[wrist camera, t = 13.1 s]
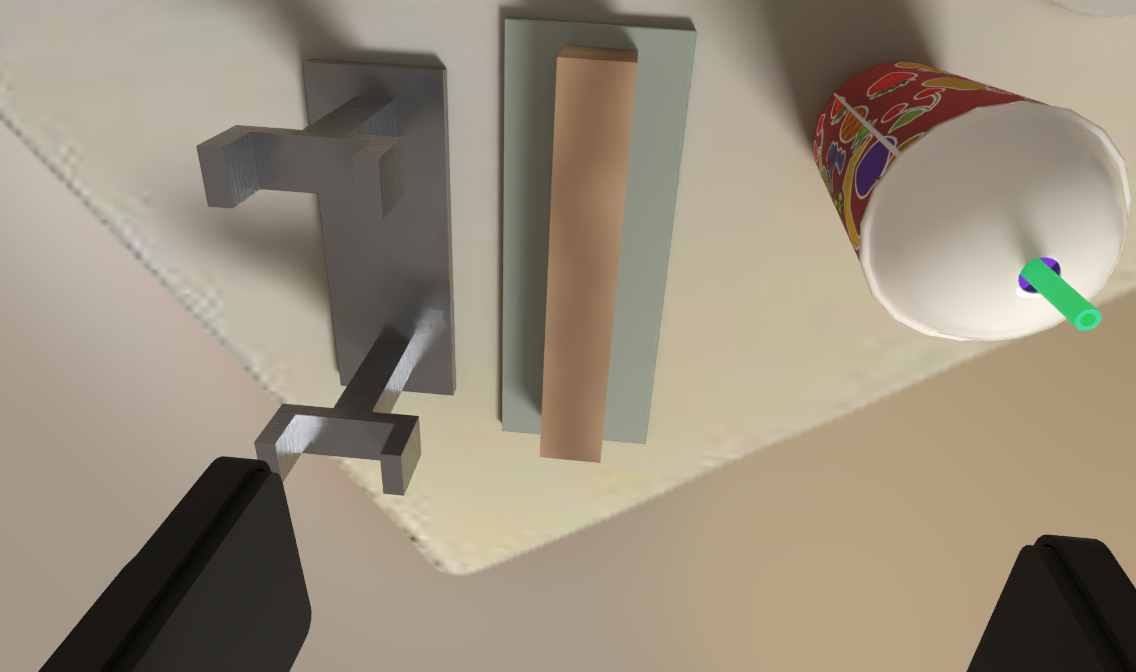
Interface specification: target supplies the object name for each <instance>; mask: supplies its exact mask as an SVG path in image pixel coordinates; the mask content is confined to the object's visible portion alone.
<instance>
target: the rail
mask: <svg viewBox="0 0 1136 672" xmlns="http://www.w3.org/2000/svg"><path fill="white" fill-rule="evenodd" d="M637 64H638V50H630V49H615V48H601V47H587V46H572V45H564V47H563V48H562V50H561V52H560V53H559V55H558V57H557V72H556V95H555V118H554V141H553V164H552V187H551V210H550V234H549V257H548V280H547V303H546V326H545V349H544V372H543V396H542V419H541V442H540V457H546V458H556V459H566V460H576V461H587V462H597V463H600V459H601V449H602V438H603V427H604V417H605V406H606V395H607V385H608V374H609V363H610V352H611V342H612V331H613V320H614V310H615V299H616V288H617V278H618V267H619V256H620V246H621V235H622V224H623V213H624V203H625V192H626V181H627V171H628V160H629V149H630V139H631V128H632V117H633V106H634V96H635V85H636V74H637Z"/></svg>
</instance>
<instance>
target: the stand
mask: <svg viewBox="0 0 1136 672" xmlns="http://www.w3.org/2000/svg"><path fill="white" fill-rule="evenodd" d="M302 63H303V71H304V80H305V88H306V97H307V105H308V113H309V122H310V125H309V126H308V127H306V128H305V129H303V130H296V129H282V128H268V127H254V126H240V125H236V126H234V127H232V128H230V129H228V130H226V131H224V132H222V133H220V134H218V135H216V136H214V137H213V138H211V139H209V140H207V141H205V142H203V143H201V144H199V145H197V151H198V156H199V161H200V166H201V172H202V177H203V182H204V187H205V192H206V197H207V202H208V206H210V207H222V208H234V207H236V206H237V205H238V204H240V203H241V202H242V201H244V200H245V199H247V198H248V197H249V196H251V195H252V194H254V193H255V192H256V191H258V190H259V189H267V190H280V191H293V192H306V193H318V197H319V206H320V214H321V222H322V231H323V239H324V248H325V256H326V264H327V273H328V281H329V289H330V298H331V306H332V315H333V323H334V331H335V340H336V348H337V357H338V365H339V373H340V382H341V385H342V386H347V387H346V389H345V390H344V392H343V394H342V395H341V397H340V398H339V400H338V402H337V403H336V405H335V406H334V408H325V407H314V406H303V405H292V404H282V405H281V407H280V408H279V409H278V411H277V412H276V413H275V415H274V416H273V417H272V419H271V420H270V422H269V423H268V424H267V426H266V427H265V428H264V430H263V431H262V433H261V434H260V435H259V436H258V438H257V439H256V441H255V442H254V443H255V448H256V453H257V458H258V460H263V461H266V462H267V463H268V465H269V467H270V469H271V472H275V473H278V474H279V475H280V476H281V479H282V482H284V480H285V478H286V477H287V475H288V474H289V472H290V470H291V469H292V467H293V466H294V464H295V463H296V461H297V459H298V458H299V456H300V455H301V453H308V454H318V455H329V456H339V457H350V458H361V459H371V460H380V461H381V471H382V482H383V493H384V494H393V495H403V496H404V494H405V492H406V490H407V487H408V485H409V482H410V480H411V477H412V475H413V473H414V470H415V468H416V465H417V463H418V460H419V458H420V456H421V444H420V427H419V416H412V415H401V414H390V413H391V411H392V409H393V407H394V405H395V403H396V401H397V399H398V397H399V395H400V393H401V391H409V392H420V393H431V394H442V395H454V392H455V390H456V372H455V338H454V304H453V270H452V237H451V203H450V169H449V136H448V102H447V68H433V67H418V66H403V65H388V64H373V63H358V62H343V61H328V60H313V59H308V60H306V61H303V62H302Z"/></svg>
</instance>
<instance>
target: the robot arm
mask: <svg viewBox="0 0 1136 672" xmlns="http://www.w3.org/2000/svg"><path fill="white" fill-rule="evenodd" d="M1045 1H1048V2H1050V3H1053V4H1055V5H1057V6H1060V7H1062V8H1065V9H1067V10H1069V11H1074V12H1079V13H1084V14H1088V15H1092V16H1107V17H1126V16H1134V15H1136V0H1045ZM310 623H311V606H310V601H309V597H308V593H307V588H306V584H305V580H304V575H303V570H302V566H301V562H300V558H299V553H298V548H297V544H296V539H295V535H294V531H293V526H292V522H291V517H290V513H289V508H288V505H287V500H286V495H285V491H284V486H283V482H282V479H281V476H280V475H279V474H278V473H275V472H271V469H270V467H269V465H268V463H267V462H266V461H263V460H254V459H245V458H235V457H223V456H222V457H219V458H217V459H216V460H214V461H213V462H212V463H211V464H210V466H209V467H208V468H207V469H206V471H205V472H204V473H203V474H202V475H201V477H200V478H199V479H198V480H197V482H196V483H195V484H194V485H193V486H192V488H191V489H190V490H189V491H188V493H187V494H186V495H185V496H184V497H183V499H182V500H181V501H180V502H179V504H178V505H177V506H176V507H175V509H174V510H173V511H172V512H171V513H170V515H169V516H168V517H167V518H166V520H165V521H164V522H163V523H162V524H161V526H160V527H159V528H158V529H157V531H156V532H155V533H154V534H153V536H152V537H151V538H150V539H149V540H148V542H147V543H146V544H145V545H144V547H143V548H142V549H141V550H140V551H139V553H138V554H137V555H136V556H135V557H134V558H133V559H132V560H131V561H130V562H129V563H128V564H127V565H126V566H125V567H124V568H123V569H122V570H121V571H120V573H119V574H118V575H117V576H116V577H115V579H114V580H113V581H112V582H111V584H110V585H109V586H108V587H107V589H106V590H105V591H104V592H103V593H102V594H101V596H100V597H99V598H98V599H97V601H96V602H95V603H94V605H93V606H92V607H91V608H90V609H89V610H88V612H87V613H86V614H85V615H84V616H83V618H82V619H81V620H80V621H79V623H78V624H77V625H76V626H75V627H74V629H73V630H72V631H71V632H70V634H69V635H68V636H67V637H66V638H65V640H64V641H63V642H62V643H61V645H60V646H59V647H58V648H57V649H56V651H55V652H54V653H53V654H52V655H51V657H50V658H49V659H48V660H47V662H46V663H45V664H44V665H43V667H42V668H41V669H40V670H39V671H38V672H289V671H290V669H291V667H292V665H293V663H294V661H295V659H296V657H297V655H298V653H299V651H300V649H301V647H302V645H303V643H304V641H305V639H306V637H307V634H308V631H309V628H310ZM967 672H1136V589H1135V587H1134V585H1133V584H1132V583H1131V581H1130V580H1129V578H1128V576H1127V575H1126V574H1125V572H1124V571H1123V569H1122V568H1121V566H1120V565H1119V563H1118V562H1117V560H1116V559H1115V557H1114V556H1113V554H1112V553H1111V551H1110V550H1109V549H1108V548H1107V546H1106V545H1105V544H1104V543H1103V542H1101V541H1099V540H1097V539H1090V538H1079V537H1068V536H1057V535H1042V536H1041V537H1039V538H1038V539H1037V541H1036V542H1035V544H1034V545H1026V546H1024V547H1023V548H1022V549H1021V551H1020V553H1019V555H1018V557H1017V559H1016V562H1015V564H1014V566H1013V568H1012V571H1011V573H1010V575H1009V577H1008V580H1007V582H1006V584H1005V587H1004V589H1003V591H1002V593H1001V595H1000V598H999V600H998V602H997V605H996V607H995V609H994V611H993V613H992V616H991V618H990V620H989V622H988V625H987V627H986V629H985V631H984V634H983V636H982V638H981V641H980V643H979V645H978V647H977V649H976V652H975V654H974V656H973V659H972V661H971V663H970V665H969V667H968V670H967Z"/></svg>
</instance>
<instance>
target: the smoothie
mask: <svg viewBox="0 0 1136 672" xmlns="http://www.w3.org/2000/svg"><path fill="white" fill-rule="evenodd" d="M814 157H815V162H816V164H817V166H818V169H819V171H820V174H821V176H822V179H823V180H824V183H825V185H826V187H827V189H828V192H829V194H830V196H831V198H832V201H833V203H834V205H835V207H836V210H837V212H838V214H839V216H840V219H841V221H842V223H843V225H844V227H845V230H846V232H847V234H848V236H849V239H850V241H851V243H852V245H853V248H854V250H855V252H856V254H857V257H858V259H859V261H860V264H861V267H862V270H863V272H864V275H865V278H866V280H867V283H868V286H869V289H870V291H871V294H872V295H873V296H874V298H875V299H876V300H877V301H878V302H879V303H880V304H881V305H882V307H883V308H884V309H885V310H886V311H887V312H888V313H889V314H890V316H891V317H892V318H893V319H895V320H897V321H899V322H901V323H903V324H904V325H906V326H908V327H910V328H912V329H914V330H916V331H918V332H920V333H922V334H924V335H930V336H935V337H941V338H946V339H952V340H957V341H964V340H976V341H982V342H983V341H993V340H1004V339H1015V338H1021V337H1025V336H1028V335H1031V334H1034V333H1037V332H1040V331H1043V330H1046V329H1048V328H1051V327H1054V326H1056V325H1057V324H1059V323H1060V322H1062V321H1064V320H1065V319H1068V320H1069V321H1070V322H1071V323H1072V324H1073V325H1074V326H1075V327H1076V328H1077V329H1080V330H1083V331H1085V330H1090V329H1093V328H1094V327H1096V326H1097V325H1098V324H1099V323H1100V320H1101V318H1102V316H1101V314H1100V312H1099V311H1098V310H1097V309H1096V308H1095V307H1094V306H1093V305H1092V304H1090V303H1089V301H1090V300H1091V299H1092V298H1093V297H1094V296H1095V295H1096V294H1097V293H1098V292H1099V291H1100V290H1101V289H1102V288H1103V287H1104V286H1105V284H1106V283H1107V281H1108V279H1109V277H1110V276H1111V274H1112V272H1113V270H1114V268H1115V267H1116V265H1117V263H1118V261H1119V260H1120V257H1121V255H1122V252H1123V248H1124V243H1125V238H1126V233H1127V228H1128V223H1129V216H1128V212H1129V207H1130V202H1131V197H1132V196H1131V190H1130V185H1129V180H1128V174H1127V169H1126V164H1125V159H1124V158H1123V156H1122V155H1121V154H1120V152H1119V151H1118V149H1117V148H1116V146H1115V145H1114V143H1113V142H1112V140H1111V139H1110V137H1109V136H1108V135H1107V133H1106V132H1105V130H1104V129H1103V128H1101V127H1099V126H1098V125H1096V124H1094V123H1092V122H1091V121H1089V120H1087V119H1086V118H1084V117H1082V116H1081V115H1079V114H1077V113H1076V112H1074V111H1072V110H1071V109H1067V108H1061V107H1056V106H1050V105H1048V104H1045V103H1042V102H1039V101H1036V100H1032V99H1029V98H1026V97H1023V96H1020V95H1017V94H1014V93H1011V92H1007V91H1004V90H1001V89H998V88H995V87H992V86H989V85H986V84H983V83H979V82H976V81H973V80H970V79H967V78H964V77H961V76H958V75H954V74H951V73H948V72H945V71H942V70H939V69H936V68H933V67H929V66H926V65H924V64H917V63H910V62H903V61H898V62H892V63H887V64H881V65H875V66H873V67H871V68H869V69H867V70H865V71H863V72H861V73H859V74H857V75H855V76H854V77H852V78H851V79H850V80H849V81H847V82H846V83H845V84H844V85H843V86H842V87H841V88H840V89H838V90H837V91H836V92H835V93H834V94H833V95H832V97H831V99H830V100H829V102H828V103H827V105H826V107H825V108H824V110H823V111H822V113H821V114H820V117H819V121H818V124H817V128H816V131H815V135H814Z"/></svg>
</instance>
